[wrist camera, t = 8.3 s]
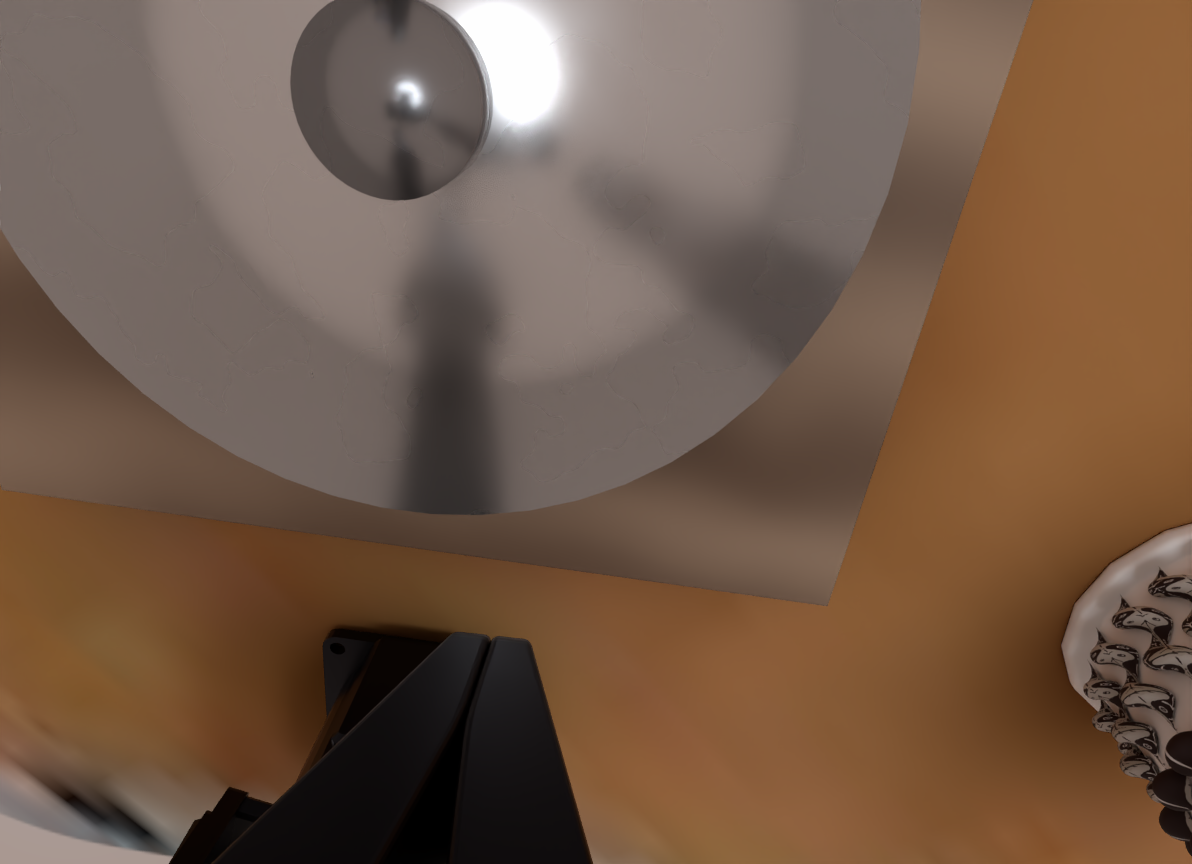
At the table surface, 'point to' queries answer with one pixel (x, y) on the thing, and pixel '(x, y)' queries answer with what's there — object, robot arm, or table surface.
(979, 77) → the walnut stand
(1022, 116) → the table surface
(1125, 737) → the decorative candle
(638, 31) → the dial
